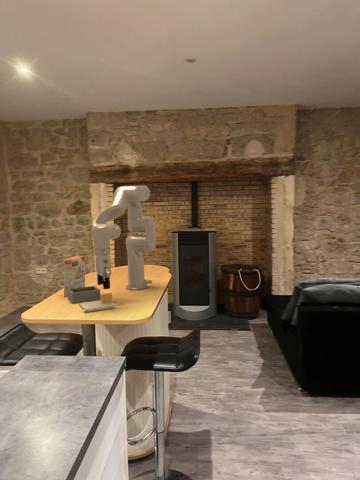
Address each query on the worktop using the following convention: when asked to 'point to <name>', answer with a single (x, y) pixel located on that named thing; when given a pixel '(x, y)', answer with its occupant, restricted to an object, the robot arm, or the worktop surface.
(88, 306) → the lid
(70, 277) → the cracker box
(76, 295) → the tub
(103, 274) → the robot arm
